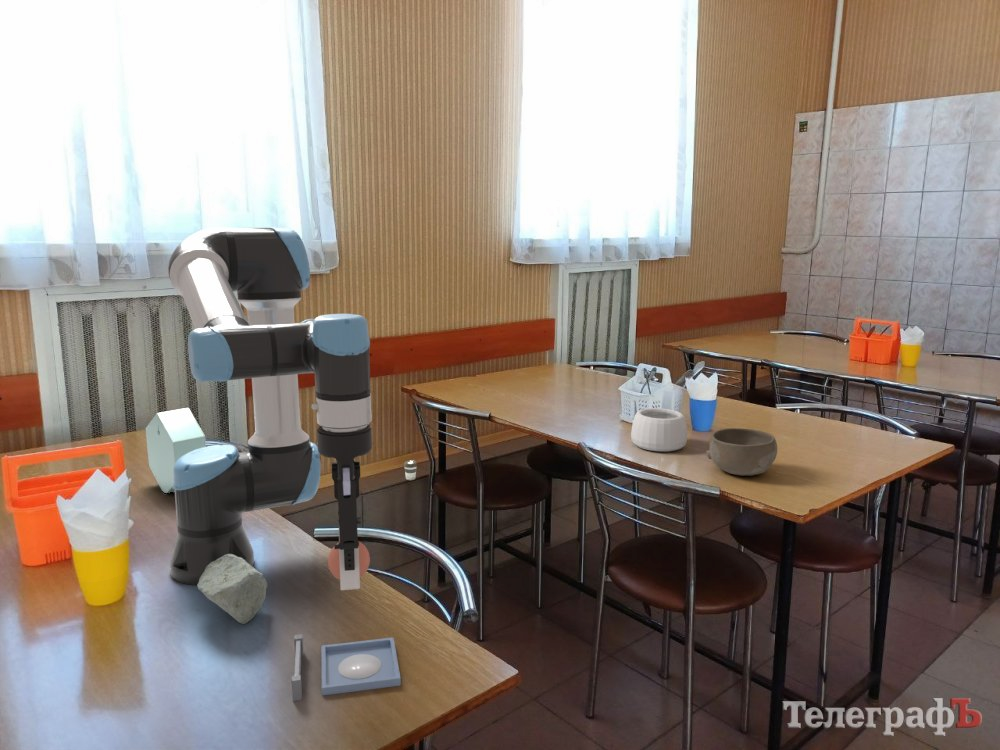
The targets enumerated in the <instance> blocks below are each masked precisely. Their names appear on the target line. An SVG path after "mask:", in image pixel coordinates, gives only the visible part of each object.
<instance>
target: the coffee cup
mask: <svg viewBox="0 0 1000 750" xmlns="http://www.w3.org/2000/svg"><path fill="white" fill-rule="evenodd" d="M417 467H418V462H417V461H416V460H414V459H413V460H411V459H410V460H407V461H404V463H403V468H404V473H405V474H404V475H405V479H406V480H408V481H414V480H416V475H417V470H418V469H417Z"/></svg>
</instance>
